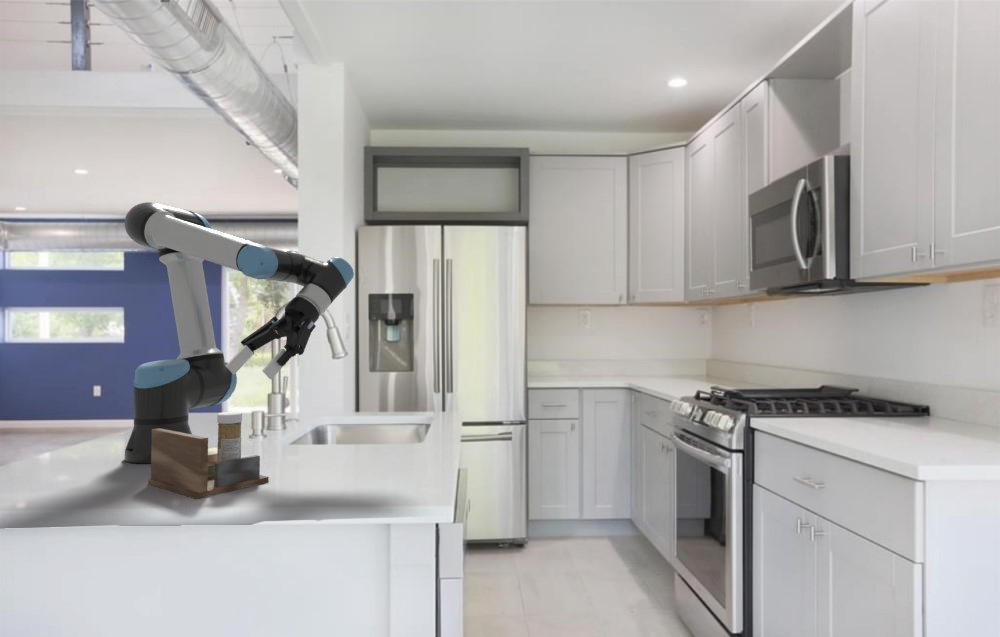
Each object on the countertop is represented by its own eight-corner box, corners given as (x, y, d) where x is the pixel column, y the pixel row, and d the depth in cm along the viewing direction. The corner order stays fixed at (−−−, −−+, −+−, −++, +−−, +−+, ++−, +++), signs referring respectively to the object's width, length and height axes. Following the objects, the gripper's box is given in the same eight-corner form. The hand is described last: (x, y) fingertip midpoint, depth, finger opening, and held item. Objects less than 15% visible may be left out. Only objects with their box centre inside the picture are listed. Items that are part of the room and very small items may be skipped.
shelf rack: (219, 469, 132) (219, 420, 132) (268, 481, 122) (269, 428, 122) (148, 484, 119) (149, 429, 120) (196, 499, 109) (197, 439, 110)
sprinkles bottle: (219, 476, 122) (220, 411, 122) (243, 475, 123) (244, 410, 123) (213, 482, 117) (214, 414, 117) (238, 481, 118) (239, 414, 118)
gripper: (351, 319, 137) (294, 389, 125) (283, 317, 151) (226, 379, 139) (334, 295, 133) (273, 364, 120) (266, 295, 147) (205, 357, 134)
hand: (247, 372), depth 130 cm, fingers open, 13 cm apart
